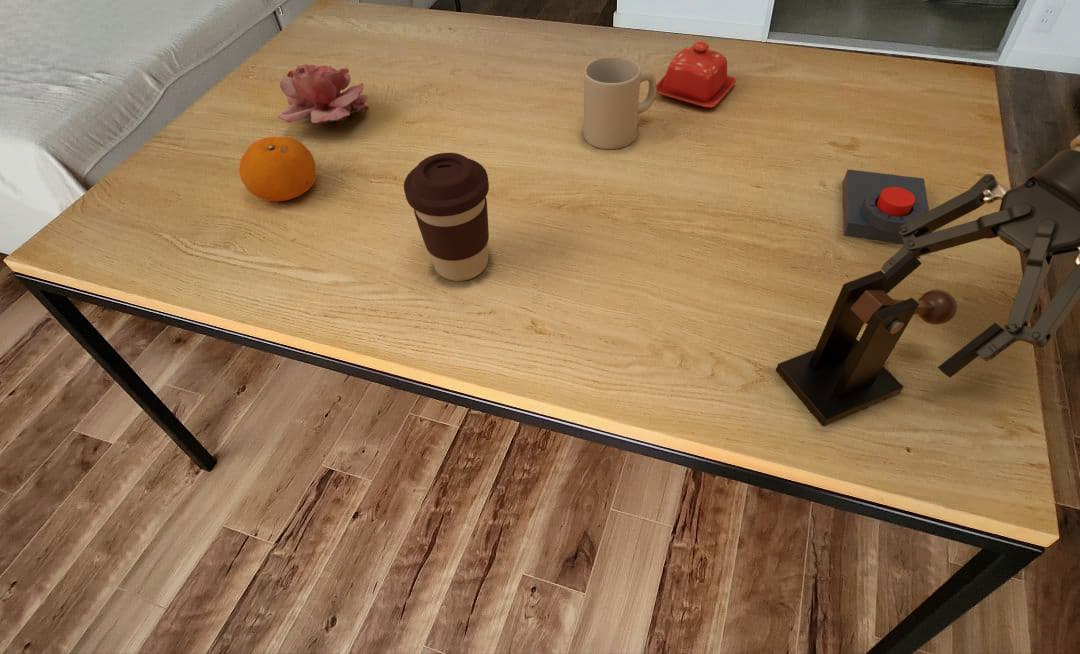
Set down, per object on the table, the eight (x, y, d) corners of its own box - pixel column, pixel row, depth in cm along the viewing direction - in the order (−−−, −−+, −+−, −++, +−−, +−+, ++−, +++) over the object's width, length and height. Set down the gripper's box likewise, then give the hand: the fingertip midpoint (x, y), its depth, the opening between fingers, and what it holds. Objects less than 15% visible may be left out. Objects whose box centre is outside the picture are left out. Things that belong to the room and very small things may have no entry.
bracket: (848, 341, 73) (892, 251, 63) (900, 393, 69) (956, 305, 58) (775, 370, 71) (808, 282, 61) (822, 426, 66) (867, 341, 56)
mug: (598, 155, 100) (599, 89, 92) (574, 129, 105) (574, 64, 97) (665, 135, 103) (672, 69, 94) (639, 110, 108) (643, 46, 100)
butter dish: (738, 84, 112) (748, 35, 105) (711, 115, 106) (719, 66, 99) (678, 69, 116) (683, 21, 110) (648, 98, 110) (652, 50, 104)
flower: (355, 133, 102) (336, 67, 97) (273, 142, 105) (250, 79, 100) (388, 109, 114) (373, 50, 109) (314, 118, 117) (296, 61, 112)
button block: (926, 251, 82) (939, 227, 79) (843, 239, 85) (853, 216, 82) (918, 191, 90) (929, 167, 87) (842, 181, 93) (851, 158, 90)
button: (911, 219, 81) (916, 208, 80) (877, 214, 82) (881, 203, 81) (908, 200, 84) (913, 189, 82) (875, 195, 85) (880, 185, 83)
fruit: (304, 215, 94) (285, 169, 88) (239, 208, 95) (216, 163, 89) (333, 172, 100) (317, 127, 94) (272, 167, 102) (252, 122, 96)
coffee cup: (474, 299, 81) (457, 203, 70) (410, 276, 84) (383, 182, 73) (512, 250, 86) (501, 155, 75) (449, 231, 90) (430, 137, 78)
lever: (920, 308, 70) (944, 283, 68) (946, 331, 67) (972, 305, 65) (840, 308, 62) (864, 279, 60) (866, 334, 60) (892, 305, 58)
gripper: (1228, 260, 55) (999, 423, 64) (1005, 129, 69) (843, 276, 78) (1232, 231, 50) (983, 412, 58) (991, 95, 64) (819, 257, 73)
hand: (903, 334), depth 68 cm, fingers open, 10 cm apart
